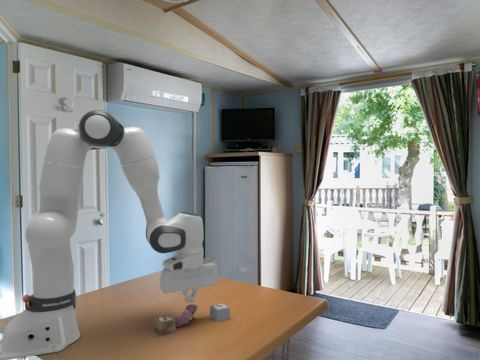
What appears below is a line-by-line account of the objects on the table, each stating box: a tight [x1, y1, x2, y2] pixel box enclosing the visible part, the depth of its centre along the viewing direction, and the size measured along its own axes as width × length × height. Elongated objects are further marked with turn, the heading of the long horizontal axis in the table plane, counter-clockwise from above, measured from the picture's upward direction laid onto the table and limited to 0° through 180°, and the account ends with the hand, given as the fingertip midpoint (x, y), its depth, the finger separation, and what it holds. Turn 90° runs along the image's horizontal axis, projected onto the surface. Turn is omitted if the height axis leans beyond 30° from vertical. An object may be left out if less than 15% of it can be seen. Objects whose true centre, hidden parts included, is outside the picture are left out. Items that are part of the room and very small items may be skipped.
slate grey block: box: [209, 303, 231, 323], centre depth 128 cm, size 5×5×4 cm
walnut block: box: [154, 315, 176, 337], centre depth 117 cm, size 5×5×4 cm
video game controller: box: [174, 303, 198, 328], centre depth 124 cm, size 10×5×7 cm, turn 169°
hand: (190, 301), depth 124 cm, fingers closed
